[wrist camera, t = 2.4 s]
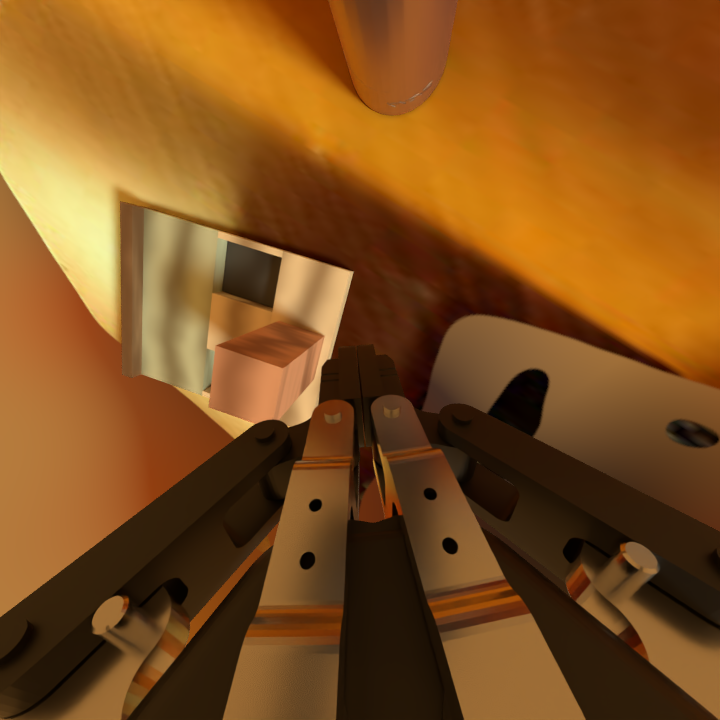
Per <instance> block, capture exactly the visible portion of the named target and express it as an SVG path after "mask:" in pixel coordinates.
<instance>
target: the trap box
mask: <svg viewBox="0 0 720 720" xmlns="http://www.w3.org/2000/svg"><path fill="white" fill-rule="evenodd" d="M120 222H121V314H122V375H125V376H128V377H131V378H133V377H135V376H138V375H140V374H142V375H145V376H148V377H151V378H154V379H157V380H159V381H162V382H166V383H168V384H171V385H174V386H177V387H179V388H182V389H185V390H188V391H191V392H194V393H196V394H199V395H202V396H205V397H208V398H210V391H211V382H212V373H213V364H214V355H215V346H216V345H218V344H221V343H223V342H226V341H228V340H231V339H233V338H236V337H239V336H241V335H244V334H246V333H249V332H251V331H254V330H256V329H259V328H262V327H264V326H267V325H269V324H272V323H274V322H277V321H281V322H284V323H287V324H290V325H293V326H296V327H300V328H303V329H306V330H309V331H312V332H315V333H318V334H321V335H324V336H325V338H324V342H323V346H322V350H321V354H320V358H319V362H318V366H317V370H316V374H315V378H314V380H313V381H312V382H311V384H310V385H309V386H308V387H307V388H306V389H305V390H304V392H303V393H302V394H301V395H300V396H299V397H298V399H297V400H296V401H295V402H294V403H293V404H292V405H291V407H290V408H289V409H288V410H287V411H286V412H285V414H284V415H283V416H282V417H281V418H280V419H279V420H280V421H282V422H284V423H285V424H286V425H287V426H290V427H292V426H294V425H297V424H300V423H303V422H305V421H307V420H308V419H310V418H311V416H312V413H313V410H314V409H315V408H316V407H317V406H318V403H319V392H320V382H321V381H320V380H321V369H322V366H323V364H324V363H325V362H326V360H328V359H330V358H331V355H332V351H333V347H334V343H335V340H336V336H337V332H338V328H339V324H340V321H341V317H342V313H343V309H344V306H345V302H346V298H347V294H348V290H349V287H350V283H351V279H352V275H353V272H354V271H350V270H347V269H344V268H341V267H337V266H334V265H331V264H328V263H324V262H321V261H318V260H315V259H311V258H308V257H305V256H302V255H298V254H295V253H292V252H289V251H286V250H282V249H279V248H276V247H273V246H269V245H266V244H263V243H260V242H256V241H253V240H250V239H247V238H243V237H240V236H237V235H234V234H230V233H227V232H224V231H221V230H218V229H214V228H211V227H208V226H205V225H201V224H198V223H195V222H192V221H188V220H185V219H182V218H179V217H175V216H172V215H169V214H166V213H162V212H159V211H156V210H153V209H150V208H146V207H142V206H137V205H133V204H129V203H125V202H121V201H120ZM222 291H223V292H222ZM225 292H226V293H225ZM228 293H229V294H228ZM231 294H232V295H231ZM234 295H235V296H234ZM237 296H238V297H237ZM240 297H241V298H240ZM243 298H245V299H243ZM247 299H248V300H247ZM250 300H251V301H250ZM253 301H254V302H253ZM256 302H257V303H256ZM259 303H260V304H259ZM262 304H263V305H262ZM265 305H266V306H265ZM268 306H269V307H268ZM271 307H272V308H271Z"/></svg>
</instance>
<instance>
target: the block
mask: <svg viewBox="0 0 720 720" xmlns="http://www.w3.org/2000/svg"><path fill="white" fill-rule="evenodd" d="M324 338H325V336H324V335H321V334H318V333H315V332H312V331H309V330H306V329H303V328H300V327H296V326H293V325H290V324H287V323H284V322H281V321H277V322H274V323H272V324H269V325H267V326H264V327H262V328H259V329H256V330H254V331H251V332H249V333H246V334H244V335H241V336H239V337H236V338H233V339H231V340H228V341H226V342H223V343H221V344H218V345H216V346H215V355H214V364H213V373H212V382H211V391H210V400H209V407H210V408H212V409H215V410H218V411H221V412H224V413H227V414H229V415H232V416H235V417H238V418H241V419H243V420H246V421H249V422H252V423H255V424H257V423H259V422H261V421H265V420H272V419H274V420H279V419H280V418H281V417H282V416H283V415H284V414H285V412H286V411H287V410H288V409H289V408H290V407H291V405H292V404H293V403H294V402H295V401H296V400H297V399H298V397H299V396H300V395H301V394H302V393H303V392H304V390H305V389H306V388H307V387H308V386H309V385H310V384H311V382H312V381H313V380H314V378H315V374H316V370H317V366H318V362H319V358H320V354H321V350H322V346H323V342H324Z"/></svg>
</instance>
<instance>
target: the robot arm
mask: <svg viewBox="0 0 720 720" xmlns="http://www.w3.org/2000/svg"><path fill="white" fill-rule="evenodd" d="M328 3H329V6H330V9H331V12H332V16H333V19H334V22H335V26H336V29H337V32H338V36H339V39H340V42H341V46H342V49H343V53H344V56H345V59H346V63H347V66H348V69H349V72H350V76H351V79H352V82H353V86H354V88H355V90H356V92H357V94H358V96H359V97H360V98H361V99H362V101H363V102H364V103H365V104H366V105H367V106H368V107H370V108H371V109H372V110H374V111H376V112H378V113H380V114H385V115H401V114H404V113H407V112H409V111H412V110H413V109H415V108H416V107H418V106H420V105H421V104H422V103H423V102H424V101H425V100H426V99H427V98H428V97H429V96H430V95H431V93H432V92H433V90H434V89H435V88H436V86H437V84H438V82H439V80H440V78H441V76H442V74H443V71H444V67H445V64H446V60H447V55H448V49H449V44H450V38H451V32H452V28H453V22H454V17H455V11H456V6H457V0H328ZM338 351H339V359H328V360H326V362H325V363H324V364H323V366H322V369H321V380H320V381H321V382H320V392H319V403H318V406H317V407H316V408H315V409H314V410H313V413H312V416H311V418H310V419H308V420H307V421H305V422H303V423H300V424H297V425H294V426H292V427H289V428H288V427H287V425H286V424H285V423H284V422H282V421H280V420H274V419H272V420H265V421H261V422H259V423H257V424H255V425H253V426H252V427H250V428H249V429H248V430H246V431H245V432H244V433H243V434H241V435H240V436H239V437H237V438H236V439H235V440H233V441H232V442H231V443H229V444H228V445H227V446H225V447H224V448H223V449H221V450H220V451H219V452H218V453H216V454H215V455H214V456H212V457H211V458H210V459H208V460H207V461H206V462H204V463H203V464H202V465H200V466H199V467H198V468H196V469H195V470H194V471H192V472H191V473H190V474H188V475H187V476H186V477H185V478H183V479H182V480H181V481H179V482H178V483H177V484H175V485H174V486H173V487H171V488H170V489H169V490H167V491H166V492H165V493H163V494H162V495H161V496H160V497H158V498H157V499H156V500H154V501H153V502H152V503H150V504H149V505H148V506H146V507H145V508H144V509H143V510H141V511H140V512H138V513H137V514H136V515H134V516H133V517H132V518H131V519H129V520H128V521H127V522H125V523H124V524H123V525H121V526H120V527H119V528H117V529H116V530H115V531H113V532H112V533H111V534H109V535H108V536H107V537H106V538H104V539H103V540H102V541H100V542H99V543H98V544H96V545H95V546H94V547H92V548H91V549H90V550H88V551H87V552H86V553H84V554H83V555H82V556H80V557H79V558H78V559H76V560H75V561H74V562H73V563H71V564H70V565H69V566H67V567H66V568H65V569H63V570H62V571H61V572H59V573H58V574H57V575H55V576H54V577H53V578H51V579H50V580H49V581H47V582H46V583H45V584H44V585H42V586H41V587H40V588H38V589H37V590H36V591H34V592H33V593H32V594H30V595H29V596H28V597H27V598H25V599H24V600H22V601H21V602H20V603H19V604H17V605H16V606H15V607H13V608H12V609H11V610H9V611H8V612H7V613H5V614H4V615H3V616H2V617H0V720H720V532H719V531H717V530H715V529H714V528H712V527H709V526H708V525H705V524H704V523H701V522H699V521H698V520H696V519H694V518H692V517H690V516H688V515H686V514H684V513H682V512H680V511H678V510H676V509H674V508H672V507H670V506H668V505H666V504H664V503H662V502H660V501H658V500H656V499H654V498H652V497H650V496H648V495H646V494H644V493H642V492H640V491H638V490H636V489H634V488H632V487H630V486H628V485H626V484H624V483H622V482H620V481H618V480H616V479H614V478H612V477H610V476H608V475H606V474H605V473H603V472H601V471H599V470H597V469H595V468H593V467H591V466H589V465H586V464H585V463H583V462H581V461H579V460H577V459H575V458H573V457H571V456H569V455H567V454H565V453H562V452H561V451H559V450H557V449H555V448H553V447H551V446H549V445H547V444H545V443H543V442H541V441H539V440H537V439H535V438H533V437H531V436H529V435H527V434H525V433H523V432H521V431H519V430H517V429H515V428H513V427H511V426H509V425H507V424H505V423H503V422H501V421H499V420H498V419H496V418H494V417H492V416H490V415H488V414H486V413H484V412H482V411H480V410H478V409H476V408H473V407H471V406H469V405H465V404H450V405H447V406H445V407H443V408H442V409H441V411H440V413H439V414H436V413H429V412H424V411H420V410H418V409H416V408H414V407H413V406H412V404H411V403H410V401H409V400H407V399H406V398H405V396H404V393H403V390H402V387H401V383H400V380H399V377H398V375H397V371H396V368H395V365H394V362H393V360H392V359H391V358H390V357H389V356H387V355H376V354H375V350H374V346H373V344H371V345H359V346H357V358H356V349H355V346H348V347H339V348H338ZM357 360H358V368H357ZM358 374H359V377H358ZM361 404H362V407H361ZM362 413H363V421H362ZM363 423H364V432H365V441H366V447H368V446H372V450H373V464H374V469H375V474H376V478H377V483H378V488H379V492H380V496H381V501H382V506H383V510H384V515H385V520H382V521H380V522H376V523H369V522H364V521H359V518H358V510H359V460H360V451H359V447H364V435H363ZM477 461H478V462H479V463H481V464H483V465H484V466H486V467H487V468H489V469H491V470H492V471H494V472H495V473H497V474H498V475H500V476H502V477H503V478H505V479H506V480H508V481H510V482H511V483H512V484H513V485H514V486H513V485H511V484H510V483H508V482H507V481H505V480H504V479H502V478H500V477H499V476H497V475H496V474H494V473H493V472H491V471H489V470H488V469H486V468H485V467H483V466H482V465H480V464H478V463H477ZM473 513H475V514H476V515H477V516H479V517H480V518H481V519H483V520H484V521H485V522H487V523H488V524H489V525H490V526H492V527H493V528H494V529H496V530H497V531H498V532H500V533H501V534H502V535H504V536H505V537H506V538H507V539H509V540H510V541H511V542H513V543H514V544H515V545H517V546H518V547H519V548H520V549H522V550H523V551H524V552H526V553H527V554H528V555H530V556H531V557H532V558H534V559H535V560H536V561H537V562H539V563H540V564H541V565H543V566H544V567H545V568H547V569H548V570H549V571H550V572H552V573H553V574H554V575H556V576H557V577H558V578H560V579H561V580H562V581H564V582H565V583H566V586H567V590H568V592H569V594H570V596H571V597H570V596H568V595H567V594H566V593H565V592H563V591H562V590H561V589H560V588H558V587H557V586H556V585H555V584H554V583H552V582H551V581H550V580H549V579H548V578H546V577H545V576H544V575H543V574H542V573H540V572H539V571H538V570H537V569H535V568H534V567H533V566H532V565H531V564H529V563H528V562H527V561H526V560H525V559H523V558H522V557H521V556H519V554H517V553H516V552H515V551H514V550H512V549H511V548H510V547H509V546H508V545H506V544H505V543H504V542H503V541H501V540H500V539H499V538H498V537H496V536H495V535H493V534H492V533H490V532H489V531H487V530H485V529H483V528H482V527H480V526H479V524H478V522H477V520H476V518H475V516H474V514H473ZM279 521H280V522H279ZM278 522H279V526H278V530H277V534H276V538H275V542H274V545H273V546H272V547H270V548H269V549H268V550H267V551H266V552H264V553H263V554H262V555H261V556H260V557H259V558H258V559H257V560H256V561H255V562H254V563H253V564H252V566H251V567H250V568H249V569H248V571H247V572H246V573H245V574H244V575H243V577H242V578H241V579H240V580H239V581H238V583H237V584H236V585H235V586H234V588H233V589H232V590H231V591H230V593H229V594H228V595H227V596H226V598H225V599H224V600H223V601H222V603H221V604H220V605H219V606H218V607H217V609H216V610H215V611H214V612H213V614H212V615H211V616H210V617H209V618H208V620H207V621H206V622H205V623H204V625H203V626H202V627H201V628H200V630H199V631H198V632H197V633H196V634H195V636H194V637H193V638H192V639H191V641H190V642H189V643H188V644H187V645H186V642H187V639H188V636H189V630H190V622H191V620H192V619H193V618H194V617H195V616H196V615H197V614H198V613H199V611H200V610H201V609H202V608H203V607H204V606H205V605H206V603H207V602H208V601H209V600H210V599H211V598H212V597H213V596H214V594H215V593H216V592H217V591H218V590H219V589H220V588H221V587H222V585H223V584H224V583H225V582H226V581H227V580H228V579H229V578H230V576H231V575H232V574H233V573H234V572H235V571H236V570H237V568H238V567H239V566H240V565H241V564H242V563H243V562H244V561H245V559H246V558H247V557H248V556H249V555H250V553H252V552H253V550H254V549H255V548H256V547H257V546H258V545H259V544H260V542H261V541H262V540H263V539H264V538H265V537H266V536H267V535H268V533H269V532H270V531H271V530H272V529H273V528H274V527H275V525H276V524H277V523H278ZM185 645H186V647H185Z"/></svg>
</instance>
